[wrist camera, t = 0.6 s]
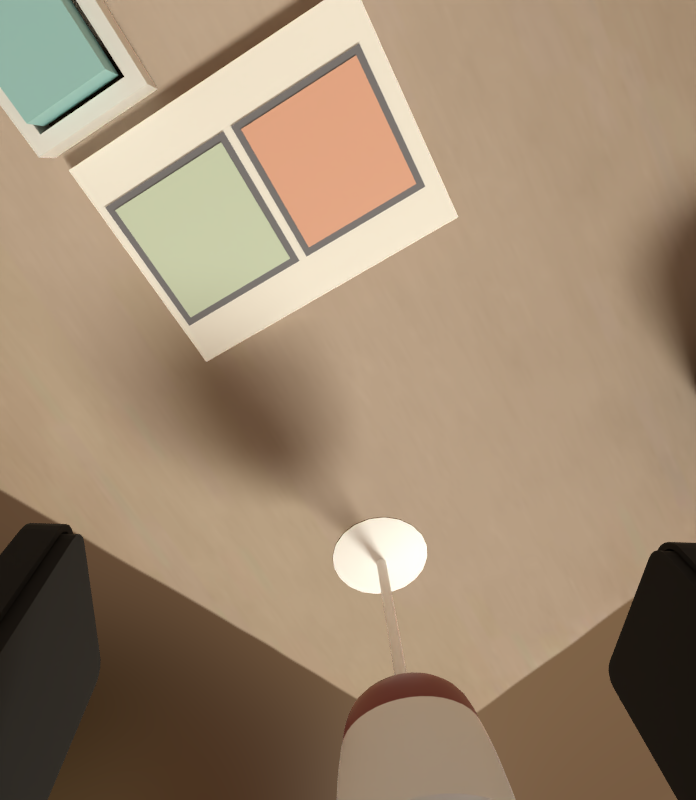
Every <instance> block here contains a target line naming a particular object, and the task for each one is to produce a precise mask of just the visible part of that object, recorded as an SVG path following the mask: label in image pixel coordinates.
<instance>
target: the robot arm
mask: <svg viewBox="0 0 696 800" xmlns="http://www.w3.org/2000/svg"><path fill="white" fill-rule="evenodd" d="M99 670H100V652H99V645H98V638H97V632H96V624H95V617H94V610H93V603H92V596H91V588H90V581H89V574H88V567H87V559H86V553H85V546H84V540H83V537H82V536H81V535H80V534H73V532H72V529H71V527H70V526H69V525H67V524H42V523H29V524H26V525H25V526H24V527H23V528H22V529H21V530H20V531H19V532H18V533H17V535H16V536H15V537H14V538H13V540H12V541H11V542H10V544H9V545H8V546H7V547H6V548H5V550H4V551H3V552H2V553H1V555H0V800H47V799H48V797H49V795H50V793H51V790H52V788H53V785H54V783H55V780H56V778H57V775H58V773H59V771H60V769H61V766H62V764H63V761H64V759H65V757H66V754H67V752H68V749H69V747H70V745H71V742H72V740H73V738H74V735H75V733H76V730H77V728H78V726H79V723H80V721H81V718H82V716H83V714H84V711H85V709H86V706H87V704H88V702H89V699H90V697H91V695H92V692H93V690H94V687H95V685H96V682H97V679H98V675H99ZM609 676H610V680H611V683H612V685H613V687H614V689H615V691H616V693H617V694H618V696H619V698H620V700H621V702H622V703H623V705H624V707H625V709H626V710H627V712H628V714H629V716H630V717H631V719H632V721H633V723H634V724H635V726H636V728H637V729H638V731H639V733H640V735H641V736H642V738H643V740H644V742H645V743H646V745H647V747H648V748H649V750H650V752H651V754H652V756H653V757H654V759H655V761H656V763H657V764H658V766H659V768H660V770H661V771H662V773H663V775H664V777H665V778H666V780H667V782H668V784H669V785H670V787H671V789H672V791H673V792H674V794H675V796H676V798H677V799H678V800H696V543H680V542H667V543H664V544H662V545H661V546H660V547H659V549H658V551H654V552H653V553H652V554H651V556H650V557H649V560H648V562H647V565H646V568H645V570H644V573H643V576H642V578H641V581H640V583H639V586H638V589H637V591H636V594H635V597H634V599H633V602H632V605H631V607H630V610H629V613H628V615H627V618H626V620H625V623H624V626H623V628H622V631H621V634H620V636H619V639H618V641H617V644H616V647H615V649H614V652H613V655H612V657H611V660H610V663H609Z"/></svg>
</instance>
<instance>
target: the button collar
mask: <svg viewBox="0 0 696 800" xmlns="http://www.w3.org/2000/svg"><path fill="white" fill-rule="evenodd" d="M76 1H77V3H78V4H79V6H80V7H81V9H82V10H83V12H84V14H85V15H86V17H87V18H88V20H89V22H90V23H91V25H92V26H93V28H94V29H95V31H96V33H97V34H98V36H99V37H100V39H101V40H102V42H103V44H104V45H105V47H106V48H107V50H108V52H109V53H110V55H111V56H112V58H113V59H114V61H115V63H116V64H117V66H118V67H119V69H120V70H121V72H122V74H123V75H124V77H123V78H122V79H120V80H119V81H118V82H116V83H115V84H113V85H112V86H110V87H109V88H107V89H106V90H104V91H103V92H101V93H100V94H99V95H97V96H96V97H94V98H93V99H91V100H90V101H88V102H87V103H85V104H84V105H83V106H81V107H80V108H78V109H77V110H75V111H74V112H72V113H71V114H69V115H68V116H66V117H65V118H64V119H62V120H61V121H59V122H58V123H56V124H55V125H53V126H52V127H50V126H49V125H46V126H39V125H33V124H26V122H25V121H24V119H23V118H22V117H21V115H20V114H19V112H18V111H17V110H16V108H15V107H14V106H13V104H12V103H11V101H10V100H9V99H8V97H7V96H6V95H5V93H4V92H3V90H2V89H1V88H0V105H1V107H2V108H3V109H4V111H5V112H6V113H7V115H8V116H9V117H10V119H11V120H12V122H13V123H14V124H15V126H16V127H17V128H18V130H19V131H20V132H21V134H22V135H23V137H24V138H25V139H26V141H27V142H28V143H29V145H30V146H31V147H32V149H33V150H34V152H35V153H36V154H37V156H38V157H39V158H56V157H58V156H59V155H61V154H62V153H64V152H65V151H67V150H68V149H70V148H71V147H73V146H74V145H76V144H77V143H79V142H80V141H82V140H83V139H85V138H86V137H87V136H89V135H90V134H92V133H93V132H95V131H96V130H98V129H99V128H101V127H102V126H104V125H105V124H107V123H108V122H110V121H111V120H113V119H114V118H116V117H117V116H119V115H120V114H122V113H123V112H125V111H126V110H128V109H129V108H130V107H132V106H133V105H135V104H136V103H138V102H139V101H141V100H142V99H144V98H145V97H147V96H148V95H150V94H151V93H153V92H154V91H156V90H157V87H156V86H155V84H154V82H153V81H152V79H151V77H150V76H149V74H148V73H147V71H146V69H145V68H144V66H143V64H142V63H141V61H140V60H139V58H138V56H137V55H136V53H135V51H134V50H133V48H132V47H131V45H130V43H129V42H128V40H127V39H126V37H125V35H124V34H123V32H122V30H121V29H120V27H119V26H118V24H117V22H116V21H115V19H114V17H113V16H112V14H111V13H110V11H109V9H108V8H107V6H106V4H105V3H104V1H103V0H76Z"/></svg>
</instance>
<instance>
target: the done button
mask: <svg viewBox="0 0 696 800" xmlns="http://www.w3.org/2000/svg"><path fill="white" fill-rule="evenodd" d="M118 76H119V75H118V73H117V71H116V70H115V68H114V67H113V65H112V64H111V62H110V60H109V59H108V57H107V56H106V54H105V53H104V51H103V50H102V48H101V46H100V45H99V43H98V42H97V40H96V39H95V37H94V35H93V34H92V32H91V31H90V29H89V28H88V26H87V24H86V23H85V21H84V20H83V18H82V17H81V15H80V13H79V12H78V10H77V9H76V7H75V6H74V4H73V2H72V1H71V0H0V88H1V89H2V90H3V92H4V93H5V95H6V96H7V97H8V99H9V100H10V101H11V103H12V104H13V106H14V107H15V108H16V110H17V111H18V112H19V114H20V115H21V117H22V118H23V119H24V121H25V122H26V124H33V125H39V126H46V125H48V124H49V123H51V122H52V121H54V120H55V119H57V118H58V117H60V116H61V115H62V114H64V113H65V112H67V111H68V110H70V109H71V108H73V107H74V106H76V105H77V104H78V103H80V102H81V101H83V100H84V99H86V98H87V97H89V96H90V95H92V94H93V93H94V92H96V91H97V90H99V89H100V88H102V87H103V86H105V85H106V84H108V83H109V82H110V81H112V80H113V79H115V78H116V77H118Z"/></svg>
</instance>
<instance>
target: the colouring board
mask: <svg viewBox="0 0 696 800" xmlns="http://www.w3.org/2000/svg"><path fill="white" fill-rule="evenodd" d="M69 171H70V173H71V174H72V176H73V177H74V178H75V180H76V181H77V183H78V184H79V185H80V187H81V188H82V189H83V191H84V192H85V194H86V195H87V196H88V198H89V199H90V201H91V202H92V203H93V205H94V206H95V208H96V209H97V210H98V212H99V213H100V215H101V216H102V217H103V219H104V220H105V222H106V223H107V224H108V226H109V227H110V228H111V230H112V231H113V233H114V234H115V235H116V237H117V238H118V240H119V241H120V242H121V244H122V245H123V247H124V248H125V249H126V251H127V252H128V254H129V255H130V256H131V258H132V259H133V261H134V262H135V263H136V265H137V266H138V267H139V269H140V270H141V272H142V273H143V274H144V276H145V277H146V279H147V280H148V281H149V283H150V284H151V286H152V287H153V288H154V290H155V291H156V293H157V294H158V295H159V297H160V298H161V299H162V301H163V302H164V304H165V305H166V306H167V308H168V309H169V311H170V312H171V313H172V315H173V316H174V318H175V319H176V320H177V322H178V323H179V325H180V326H181V327H182V329H183V330H184V332H185V333H186V334H187V336H188V337H189V338H190V340H191V341H192V343H193V344H194V345H195V347H196V348H197V350H198V351H199V352H200V354H201V355H202V357H203V358H204V359H205V361H206V362H207V361H209V360H211V359H212V358H214V357H216V356H218V355H219V354H221V353H223V352H225V351H226V350H228V349H230V348H232V347H233V346H235V345H237V344H239V343H240V342H242V341H244V340H245V339H247V338H249V337H251V336H252V335H254V334H256V333H258V332H259V331H261V330H263V329H265V328H266V327H268V326H270V325H272V324H273V323H275V322H277V321H279V320H280V319H282V318H284V317H285V316H287V315H289V314H291V313H292V312H294V311H296V310H298V309H299V308H301V307H303V306H305V305H306V304H308V303H310V302H312V301H313V300H315V299H317V298H318V297H320V296H322V295H324V294H325V293H327V292H329V291H331V290H332V289H334V288H336V287H338V286H339V285H341V284H343V283H345V282H346V281H348V280H350V279H352V278H353V277H355V276H357V275H358V274H360V273H362V272H364V271H365V270H367V269H369V268H371V267H372V266H374V265H376V264H378V263H379V262H381V261H383V260H385V259H386V258H388V257H390V256H391V255H393V254H395V253H397V252H398V251H400V250H402V249H404V248H405V247H407V246H409V245H411V244H412V243H414V242H416V241H418V240H419V239H421V238H423V237H425V236H426V235H428V234H430V233H431V232H433V231H435V230H437V229H438V228H440V227H442V226H444V225H445V224H447V223H449V222H451V221H452V220H454V219H456V218H458V215H457V213H456V211H455V208H454V206H453V204H452V202H451V200H450V197H449V195H448V193H447V191H446V188H445V186H444V184H443V182H442V179H441V177H440V175H439V173H438V171H437V168H436V166H435V164H434V162H433V159H432V157H431V155H430V153H429V150H428V148H427V146H426V144H425V141H424V139H423V137H422V135H421V133H420V130H419V128H418V126H417V124H416V121H415V119H414V117H413V115H412V112H411V110H410V108H409V106H408V104H407V101H406V99H405V97H404V95H403V92H402V90H401V88H400V86H399V83H398V81H397V79H396V77H395V75H394V72H393V70H392V68H391V66H390V63H389V61H388V59H387V57H386V54H385V52H384V50H383V48H382V45H381V43H380V41H379V39H378V37H377V34H376V32H375V30H374V28H373V25H372V23H371V21H370V19H369V16H368V14H367V12H366V10H365V8H364V5H363V3H362V1H361V0H323V1H322V2H320V3H319V4H317V5H316V6H314V7H313V8H311V9H310V10H308V11H307V12H305V13H304V14H302V15H301V16H299V17H298V18H296V19H295V20H293V21H292V22H290V23H289V24H287V25H286V26H284V27H283V28H281V29H280V30H278V31H277V32H275V33H274V34H272V35H271V36H269V37H268V38H266V39H265V40H263V41H262V42H260V43H259V44H257V45H256V46H254V47H253V48H251V49H250V50H248V51H247V52H245V53H244V54H242V55H241V56H239V57H238V58H236V59H235V60H233V61H232V62H230V63H229V64H227V65H226V66H224V67H223V68H221V69H220V70H218V71H217V72H215V73H214V74H212V75H211V76H209V77H208V78H206V79H205V80H203V81H202V82H200V83H199V84H197V85H196V86H194V87H193V88H191V89H190V90H188V91H187V92H185V93H184V94H182V95H181V96H179V97H178V98H176V99H175V100H173V101H172V102H170V103H169V104H167V105H166V106H164V107H163V108H161V109H160V110H158V111H157V112H156V113H154V114H153V115H151V116H150V117H148V118H147V119H145V120H144V121H142V122H141V123H139V124H138V125H136V126H135V127H133V128H132V129H130V130H129V131H127V132H126V133H124V134H123V135H121V136H120V137H118V138H117V139H115V140H114V141H112V142H111V143H109V144H108V145H106V146H105V147H103V148H102V149H100V150H99V151H97V152H96V153H94V154H93V155H91V156H90V157H88V158H87V159H85V160H84V161H82V162H81V163H79V164H78V165H76V166H75V167H73V168H72V169H70V170H69Z"/></svg>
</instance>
